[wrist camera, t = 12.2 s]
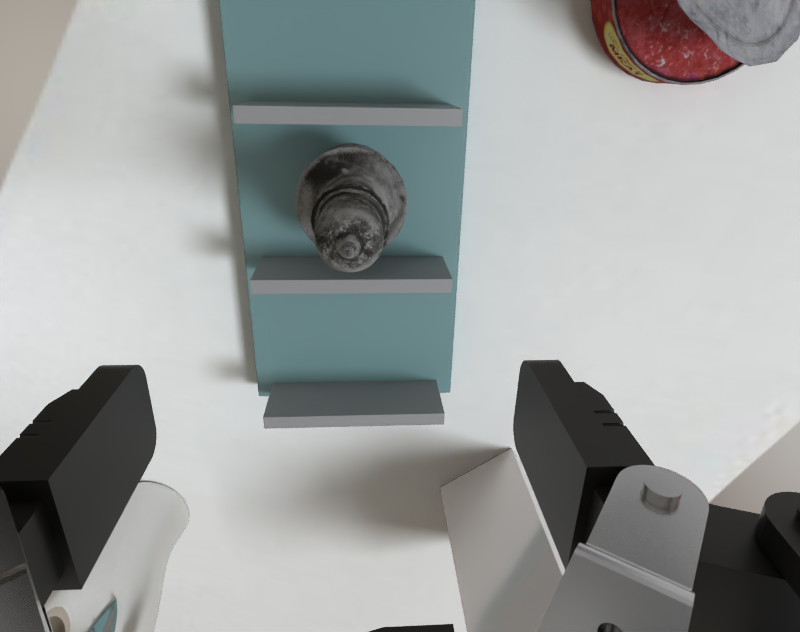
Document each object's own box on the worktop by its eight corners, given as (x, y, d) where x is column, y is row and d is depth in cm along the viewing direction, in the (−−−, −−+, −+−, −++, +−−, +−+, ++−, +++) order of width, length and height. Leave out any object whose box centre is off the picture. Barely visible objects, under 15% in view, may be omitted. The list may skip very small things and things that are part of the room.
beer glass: (196, 479, 42) (117, 680, 28) (195, 548, 44) (122, 761, 31) (99, 472, 41) (-32, 675, 27) (104, 542, 44) (-13, 759, 30)
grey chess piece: (383, 252, 34) (395, 339, 23) (289, 222, 33) (254, 298, 22) (417, 158, 32) (447, 205, 21) (317, 122, 30) (293, 152, 20)
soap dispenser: (414, 501, 44) (460, 864, 24) (511, 447, 42) (646, 788, 22) (456, 549, 46) (529, 916, 26) (549, 500, 45) (701, 850, 25)
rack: (216, -96, 27) (184, -132, 22) (475, -86, 28) (500, -119, 23) (262, 384, 39) (247, 431, 34) (446, 381, 40) (459, 426, 35)
